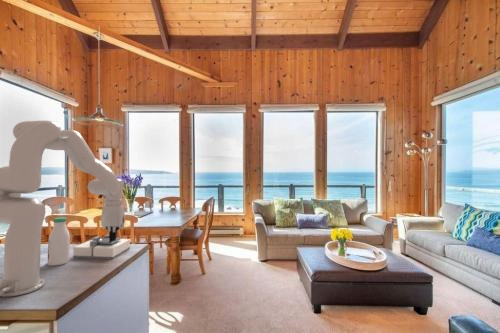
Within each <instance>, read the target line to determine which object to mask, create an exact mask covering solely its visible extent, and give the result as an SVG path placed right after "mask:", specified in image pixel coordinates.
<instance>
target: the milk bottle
mask: <svg viewBox="0 0 500 333" xmlns="http://www.w3.org/2000/svg"><path fill="white" fill-rule="evenodd" d="M67 219H68V218H67V217H64V216H61V217H60V216H59V217H54V218H53V227H52V230H51V232H50V234H49V236H48V241H47V244H48V245H47V265H48V266H52V267H53V266H55V267H56V266H60V265H65V264H68V263H69V261H70V249H71V248H70V247H71V235H70V231H69V229H68V228H67V224H66V223H67Z"/></svg>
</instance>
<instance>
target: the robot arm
mask: <svg viewBox="0 0 500 333" xmlns="http://www.w3.org/2000/svg"><path fill="white" fill-rule="evenodd" d="M81 134H82V133H80V132H78V131H76V130H73V129H63V130H62V129H61V125H60V124H59V123H57V122H55V121H51V120H31V121H30V120H28V121H25V120H24V121H21V122H18V123H16V125H14V126H13V129H12V135H13V137H14V139H15V141H14V142H13V144H12V145H11V148H10V150H9V160H8V165H7V166H2V167H0V223H1V224H7V225H8V224H9V227H8V229H7V230H6V233H5V235H4V236H5V237H4V245H3V246H4V249H3V250H4V252H3V253H4V255H3V272H2V273H3V275H2V276H3V277H2V280H0V297H4V298H7V297H16V296H21V295H22V296H23V295H26V294H29V293H32V292H34V291H37V290H39V289H41V288H42V287H43V286H45V285H46V284H45V283H46V282H45V281H46V280H45V279H44V278H42V277H40V275H41V274H40V273H41V253H42V252H41V249H42V247H41V246H42V231H43V230H42V228H43V225H44V220H45V217H46V216H45V215H46V206H45V204H44V203H43V202H42V201H41V200H40V199H38V198H34V197H26V196H21V195H22V194H23V195H25V194H31V193H32V194H33V193H35V192H37V191H38V190H39V189H40V187H41V184H42V165H43V164H42V162H43V154H44V152H45V150H50V151H51V150H52V151H64V153H65V154H66V155H67V157H68V158H69V160H70V161H71V162H72V164H73V165H74V167H75V168H76V169H77V170H79V171H81V172H83V173H86V174H88V175H91V176H93V177H95V179H94V178H93V179H92V180H90V181H89V182H88V184H87V190H88V191H89V193H91V194H92V195H104V196H105V198H104V199H105V200H103V201H102V203H103V204H104V206H103V207H102V211H101V216H100V225H101V228H102V229H106V230H107V232H108V235H109V238H110V239H109V240H115V239H116V238H118V237H117V236H118V231H119V230H120V229H121V230H122V229H124V228H125V222H126V220H125V219H126V215H125V213H126V212H125V208H124V205H123V191H124V190H123V187H124V185H123V184H124V183H123V180H122V178H118V177H117V175H116V174H115V173H114V171H113V170H112V169H111V168H110V167H109V166H108V165H106V164H104V163H103V162H102V161H101V160H99V159H97V158H96V156H95V154H94V153H93V152H92V150H91V148H90V147H89V145H88V143H87V142H86V140H85V139H84V137H83V136H82V135H81Z"/></svg>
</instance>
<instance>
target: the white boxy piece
mask: <svg viewBox="0 0 500 333" xmlns="http://www.w3.org/2000/svg"><path fill="white" fill-rule="evenodd" d="M105 237H107V238H109V234H105V235H104V237H102V236H99V235H97V236H94V237H92V238H91V239H90V240H87V241H84V242H82V243H80V244H78V245H75V246H73V256H72V258H74V259H97V260H98V259H99V260H114V259H116V258H117V257H119V256H120V255H122V254H124V253H126V252H127V251H129V250H130V248H131V239H130V238H128V239H127V238H120V240H119V241H117V242H115V243H113V244H97V241H98V240H100V239H102V238H105Z"/></svg>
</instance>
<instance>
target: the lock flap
mask: <svg viewBox="0 0 500 333" xmlns="http://www.w3.org/2000/svg"><path fill="white" fill-rule="evenodd" d="M101 238H102V239H100V240H98V241H97V244H113V243H115V242H117V241H119V240H120V239H121V237H116V239H115V240H109V239H110V238H107V237H105V238H104V237H101Z"/></svg>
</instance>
